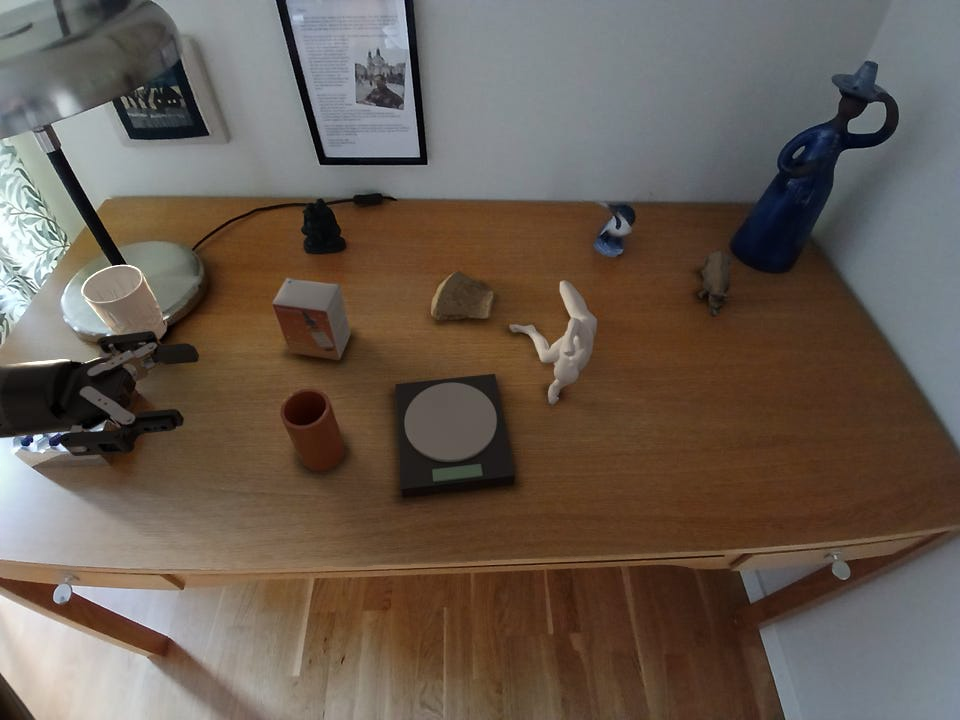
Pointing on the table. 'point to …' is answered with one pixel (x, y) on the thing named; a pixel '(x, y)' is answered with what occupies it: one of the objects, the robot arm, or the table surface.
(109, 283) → the white cup
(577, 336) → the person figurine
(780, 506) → the table surface
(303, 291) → the small box
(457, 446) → the scale
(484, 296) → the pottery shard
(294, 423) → the cup
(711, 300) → the rhino figurine
